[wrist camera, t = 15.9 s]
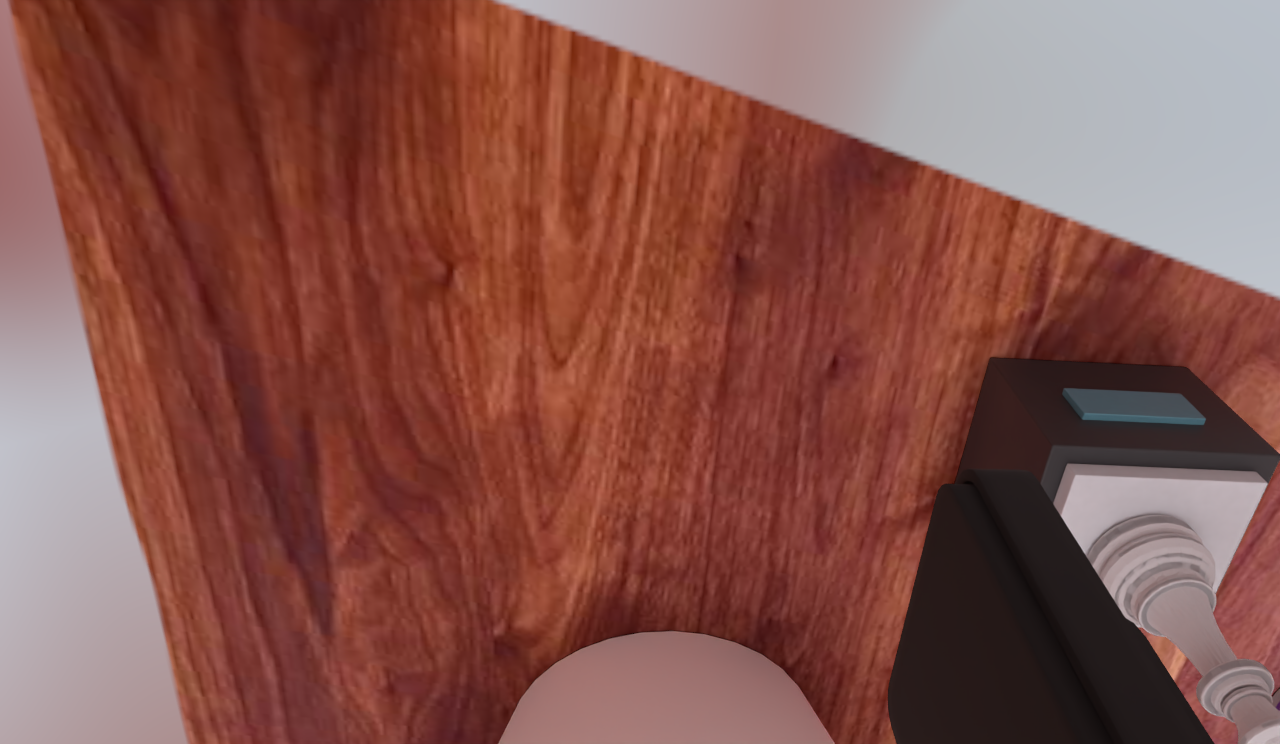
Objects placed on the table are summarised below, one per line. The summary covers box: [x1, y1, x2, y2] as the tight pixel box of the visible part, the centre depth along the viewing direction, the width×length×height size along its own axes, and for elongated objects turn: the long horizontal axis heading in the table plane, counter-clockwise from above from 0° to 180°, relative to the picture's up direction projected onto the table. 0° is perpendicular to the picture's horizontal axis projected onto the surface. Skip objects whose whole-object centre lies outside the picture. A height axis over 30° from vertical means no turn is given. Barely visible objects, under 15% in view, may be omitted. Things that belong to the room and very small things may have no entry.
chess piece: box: [1087, 515, 1280, 744], centre depth 33 cm, size 4×4×10 cm
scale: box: [955, 358, 1280, 627], centre depth 41 cm, size 9×9×8 cm
